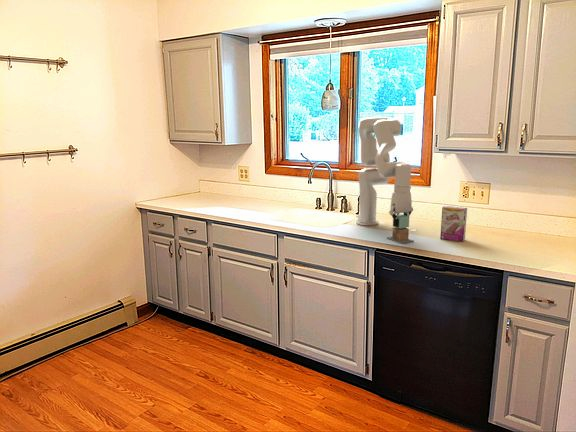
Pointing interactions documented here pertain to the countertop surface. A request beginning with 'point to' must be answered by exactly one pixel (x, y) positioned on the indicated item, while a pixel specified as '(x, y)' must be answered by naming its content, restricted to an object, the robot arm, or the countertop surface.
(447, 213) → the candy bar box
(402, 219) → the teal block
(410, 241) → the mat
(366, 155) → the robot arm
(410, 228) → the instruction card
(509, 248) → the countertop surface
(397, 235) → the walnut block
